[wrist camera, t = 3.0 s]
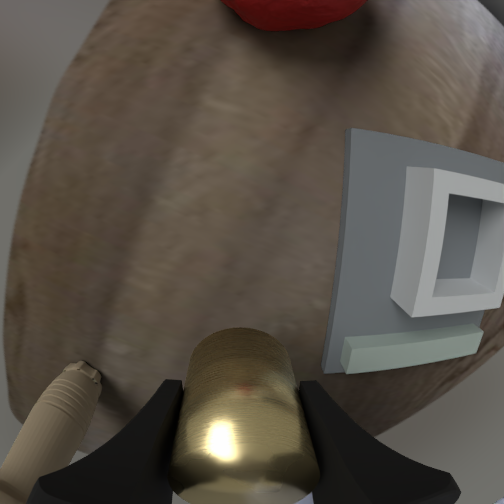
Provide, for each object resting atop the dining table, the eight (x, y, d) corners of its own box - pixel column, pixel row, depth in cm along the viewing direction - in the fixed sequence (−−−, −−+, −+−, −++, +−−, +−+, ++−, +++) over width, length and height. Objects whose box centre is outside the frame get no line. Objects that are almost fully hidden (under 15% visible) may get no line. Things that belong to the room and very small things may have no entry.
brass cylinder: (285, 405, 13) (306, 510, 8) (192, 404, 13) (178, 511, 7) (295, 327, 12) (334, 438, 7) (186, 325, 12) (155, 438, 6)
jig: (464, 347, 22) (488, 370, 18) (320, 365, 21) (335, 401, 17) (500, 163, 18) (535, 167, 14) (345, 129, 17) (373, 121, 13)
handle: (86, 335, 20) (-20, 494, 5) (130, 399, 21) (75, 561, 7) (46, 348, 20) (-53, 479, 5) (88, 407, 22) (26, 544, 7)
